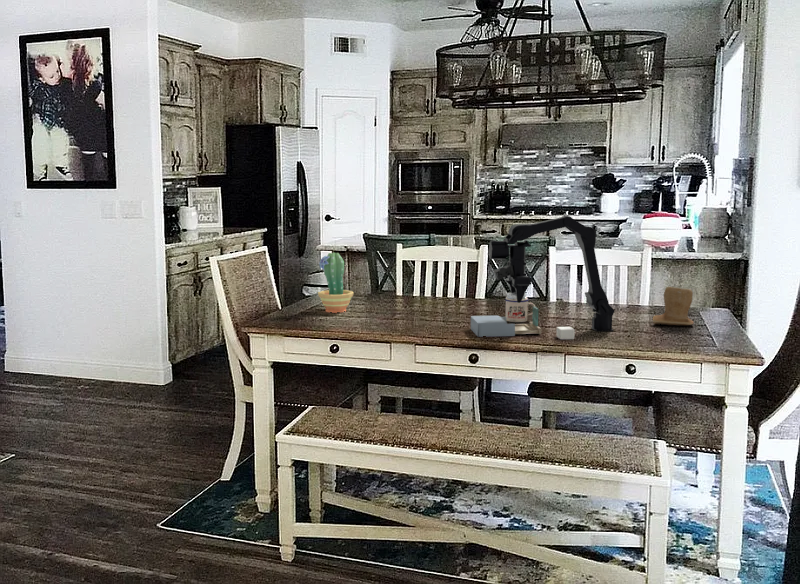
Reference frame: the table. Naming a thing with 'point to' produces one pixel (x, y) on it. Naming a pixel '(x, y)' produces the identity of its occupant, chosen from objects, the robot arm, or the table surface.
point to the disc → (514, 295)
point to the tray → (529, 325)
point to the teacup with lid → (517, 310)
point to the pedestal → (565, 333)
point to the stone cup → (675, 307)
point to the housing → (491, 326)
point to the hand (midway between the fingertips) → (516, 301)
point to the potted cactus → (334, 284)
